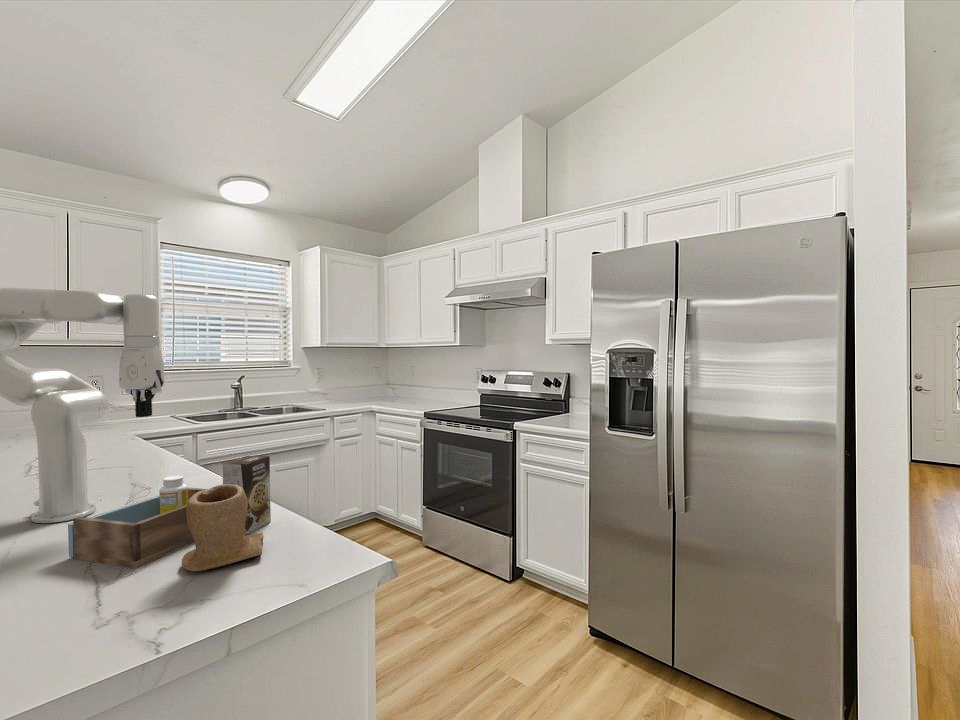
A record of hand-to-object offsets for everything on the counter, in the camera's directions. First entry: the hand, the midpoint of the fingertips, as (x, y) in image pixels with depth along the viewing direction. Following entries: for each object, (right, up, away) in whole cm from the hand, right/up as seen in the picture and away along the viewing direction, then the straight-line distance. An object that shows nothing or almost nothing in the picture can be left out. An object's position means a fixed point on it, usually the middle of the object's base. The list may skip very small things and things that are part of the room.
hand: (144, 416), depth 127 cm
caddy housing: (+15, -25, -17) cm, 34 cm away
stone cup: (+35, -26, -29) cm, 52 cm away
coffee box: (+31, -25, -9) cm, 41 cm away
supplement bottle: (+15, -23, -11) cm, 30 cm away
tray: (+13, -25, -17) cm, 33 cm away
